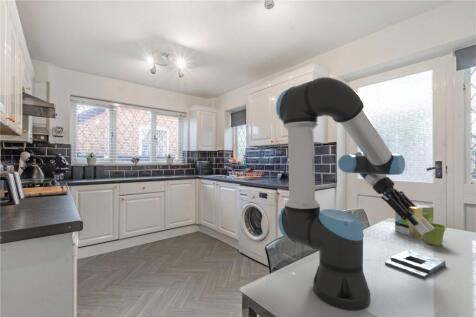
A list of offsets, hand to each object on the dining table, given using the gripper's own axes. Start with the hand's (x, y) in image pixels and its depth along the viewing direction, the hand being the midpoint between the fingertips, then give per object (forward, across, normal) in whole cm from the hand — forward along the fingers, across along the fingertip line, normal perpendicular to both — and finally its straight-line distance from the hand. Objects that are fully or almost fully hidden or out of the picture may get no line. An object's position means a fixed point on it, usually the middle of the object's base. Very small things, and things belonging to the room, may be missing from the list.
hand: (428, 231), depth 81 cm
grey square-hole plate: (+7, +3, -12) cm, 14 cm away
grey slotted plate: (+7, -1, -12) cm, 14 cm away
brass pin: (0, 0, -5) cm, 5 cm away
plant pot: (+3, -33, -17) cm, 37 cm away
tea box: (-5, -44, -25) cm, 51 cm away
